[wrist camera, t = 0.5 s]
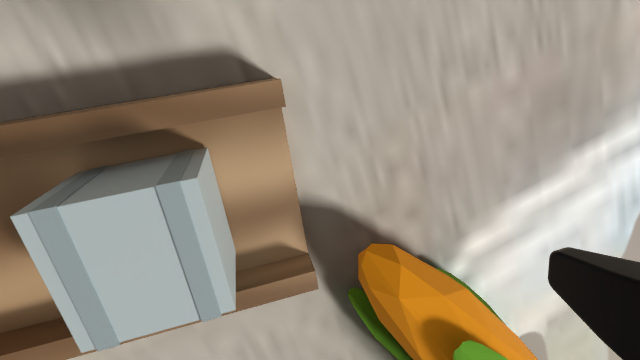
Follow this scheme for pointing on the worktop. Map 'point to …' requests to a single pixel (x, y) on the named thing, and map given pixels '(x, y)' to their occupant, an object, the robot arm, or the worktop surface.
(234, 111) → the bay
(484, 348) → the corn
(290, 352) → the worktop surface
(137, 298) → the block
